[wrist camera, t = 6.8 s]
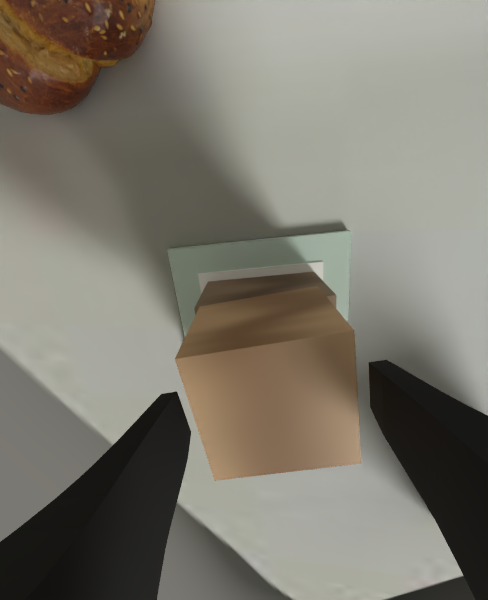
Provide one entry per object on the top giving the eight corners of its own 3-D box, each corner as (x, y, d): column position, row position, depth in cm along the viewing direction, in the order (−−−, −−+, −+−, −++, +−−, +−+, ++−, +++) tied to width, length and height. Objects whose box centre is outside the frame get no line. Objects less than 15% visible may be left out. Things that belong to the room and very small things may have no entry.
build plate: (348, 230, 14) (352, 231, 14) (343, 380, 18) (346, 386, 17) (169, 248, 15) (166, 250, 14) (198, 391, 18) (196, 397, 18)
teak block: (317, 286, 11) (354, 330, 7) (327, 384, 12) (361, 463, 9) (199, 306, 11) (174, 358, 7) (224, 399, 13) (214, 480, 9)
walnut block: (314, 271, 15) (336, 295, 11) (315, 362, 17) (334, 409, 13) (207, 281, 15) (194, 308, 11) (221, 370, 17) (214, 417, 13)
